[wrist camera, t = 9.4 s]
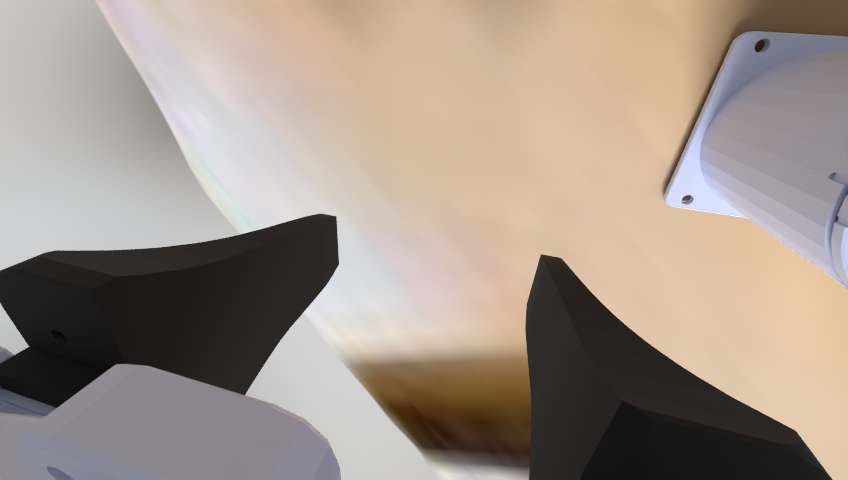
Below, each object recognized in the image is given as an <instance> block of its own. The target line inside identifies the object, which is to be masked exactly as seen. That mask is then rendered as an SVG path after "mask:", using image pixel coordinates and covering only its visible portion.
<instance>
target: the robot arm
mask: <svg viewBox="0 0 848 480" xmlns="http://www.w3.org/2000/svg"><path fill="white" fill-rule="evenodd" d="M761 39H762V40H764V42H765V45H764V47H763V49H762V50H761V51H759V52H756V51H755V49H754V48H755V45H756V43H757V42H758V41H759V40H761ZM686 195H690V199H689V200H688V201H686V202H681V201H682V198H683V197H684V196H686ZM664 201H665V202H666V203H667V204H668V205H669V206H672V207H677V208H684V209H690V210H697V211H703V212H710V213H716V214H723V215H729V216H736V217H742V218H748V219H749V220H751V221H752V222H753V223H755V224H756V225H758V226H759V227H760V228H762V229H763V230H765V231H766V232H768V233H769V234H770V235H772V236H773V237H775V238H776V239H777V240H779V241H780V242H782V243H783V244H785V245H786V246H787V247H789V248H790V249H792V250H793V251H794V252H796V253H797V254H799V255H800V256H802V257H803V258H804V259H806V260H807V261H809V262H810V263H811V264H813V265H814V266H816V267H817V268H819V269H820V270H821V271H823V272H824V273H826V274H827V275H828V276H830V277H831V278H833V279H834V280H836V281H837V282H838V283H840V284H841V285H843V286H844V287H845V288H847V289H848V37H847V36H830V35H813V34H797V33H780V32H763V31H751V32H745V33H742V34H740V35H739V36H738V37H736V38H735V39H734V41H733V42H732V44H731V46H730V48H729V50H728V52H727V55H726V57H725V59H724V61H723V64H722V66H721V68H720V70H719V73H718V75H717V77H716V79H715V82H714V84H713V86H712V88H711V91H710V93H709V95H708V97H707V100H706V102H705V104H704V106H703V108H702V111H701V113H700V115H699V117H698V120H697V122H696V124H695V126H694V129H693V131H692V133H691V135H690V138H689V140H688V142H687V144H686V147H685V149H684V151H683V153H682V156H681V158H680V160H679V162H678V165H677V167H676V169H675V171H674V174H673V176H672V178H671V180H670V182H669V185H668V187H667V189H666V191H665V194H664ZM338 265H339V258H338V239H337V221H336V216H330V215H325V214H316V215H311V216H307V217H303V218H299V219H296V220H292V221H289V222H285V223H282V224H278V225H275V226H271V227H268V228H264V229H260V230H257V231H253V232H249V233H245V234H241V235H237V236H233V237H229V238H223V239H218V240H212V241H207V242H201V243H194V244H186V245H179V246H170V247H161V248H148V249H135V250H112V251H111V250H110V251H52V252H47V253H44V254H41V255H38V256H36V257H33V258H31V259H28V260H26V261H23V262H21V263H18V264H16V265H13V266H11V267H8V268H6V269H3V270H1V271H0V303H1V304H2V306H3V308H4V310H5V311H6V313H7V314H8V316H9V317H10V319H11V320H12V321H13V323H14V324H15V326H16V328H17V329H18V331H19V332H20V333H21V335H22V336H23V338H24V339H25V341H26V342H27V344H28V345H29V346H30V347H28V348H26V349H25V350H23V351H21V352H19V353H18V354H16V355H13V354H12V353H11V352H9V351H8V350H7V349H5V348H2V347H0V480H341V477H340V468H339V465H338V462H337V459H336V457H335V455H334V453H333V450H332V448H331V446H330V444H329V442H328V440H327V439H326V438H325V437H324V436H323V435H322V434H320V432H319V431H317V430H316V429H315V428H314V427H313V426H312V425H311V424H310V423H309V422H307V421H306V420H305V419H304V418H302V417H300V416H298V415H296V414H293V413H291V412H289V411H287V410H285V409H283V408H281V407H279V406H276V405H274V404H271V403H268V402H265V401H261V400H258V399H255V398H252V397H248V396H245V394H246V392H247V391H248V389H249V387H250V386H251V384H252V382H253V381H254V379H255V378H256V376H257V375H258V373H259V372H260V370H261V368H262V367H263V365H264V364H265V362H266V361H267V359H268V357H269V356H270V355H271V353H272V352H273V350H274V349H275V347H276V346H277V344H278V343H279V342H280V340H281V339H282V337H283V336H284V335H285V334H286V332H287V331H288V330H289V328H290V327H291V326H292V325H293V324H294V322H295V321H296V320H297V319H298V318H299V317H300V316H301V314H302V313H303V312H304V311H305V310H306V309H307V307H308V306H309V305H310V304H311V303H312V302H313V300H314V299H315V298H316V297H317V296H318V294H319V293H320V292H321V291H322V290H323V288H324V287H325V286H326V285H327V283H328V282H329V280H330V278H331V277H332V275H333V274H334V272H335V270H336V268H337V267H338ZM526 342H527V354H528V365H529V376H530V387H531V445H530V474H529V480H832V479H831V477H830V476H829V475H828V473H827V472H826V471H825V469H824V468H823V467H822V465H821V464H820V463H819V461H818V460H817V459H816V457H815V456H814V455H813V453H812V452H811V451H810V449H809V448H808V447H807V445H806V444H805V443H804V441H803V440H802V439H801V437H800V436H799V435H798V433H797V432H796V431H795V430H793V429H791V428H789V427H787V426H785V425H783V424H782V423H780V422H778V421H776V420H774V419H772V418H770V417H768V416H766V415H765V414H763V413H761V412H759V411H757V410H755V409H753V408H751V407H749V406H747V405H746V404H744V403H742V402H740V401H738V400H736V399H734V398H732V397H731V396H729V395H727V394H725V393H724V392H722V391H720V390H719V389H717V388H715V387H714V386H712V385H710V384H709V383H707V382H705V381H704V380H702V379H700V378H699V377H697V376H695V375H694V374H692V373H691V372H689V371H688V370H686V369H684V368H683V367H681V366H680V365H678V364H677V363H675V362H674V361H672V360H671V359H670V358H668V357H667V356H665V355H664V354H662V353H661V352H660V351H658V350H657V349H655V348H654V347H652V346H651V345H650V344H648V343H647V342H646V341H644V340H643V339H642V338H641V337H639V336H638V335H637V334H636V333H635V332H633V331H632V330H631V329H630V328H628V327H627V326H626V325H625V324H624V323H622V322H621V321H620V320H619V319H618V318H617V317H616V316H615V315H613V314H612V313H611V312H610V311H609V310H608V309H607V308H606V307H605V306H604V305H603V304H602V303H601V302H600V301H599V300H598V299H597V298H596V297H595V296H594V295H593V294H592V293H591V292H590V291H589V289H588V288H587V287H586V286H585V285H584V284H583V283H582V282H581V280H580V279H579V278H578V277H577V276H576V275H575V274H574V272H573V271H572V270H571V269H570V268H569V267H568V265H567V264H566V263H565V262H564V261H563V260H562V259H561V258H558V257H552V256H547V255H541V256H540V260H539V263H538V267H537V270H536V274H535V277H534V281H533V284H532V288H531V292H530V295H529V299H528V302H527V311H526Z"/></svg>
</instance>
